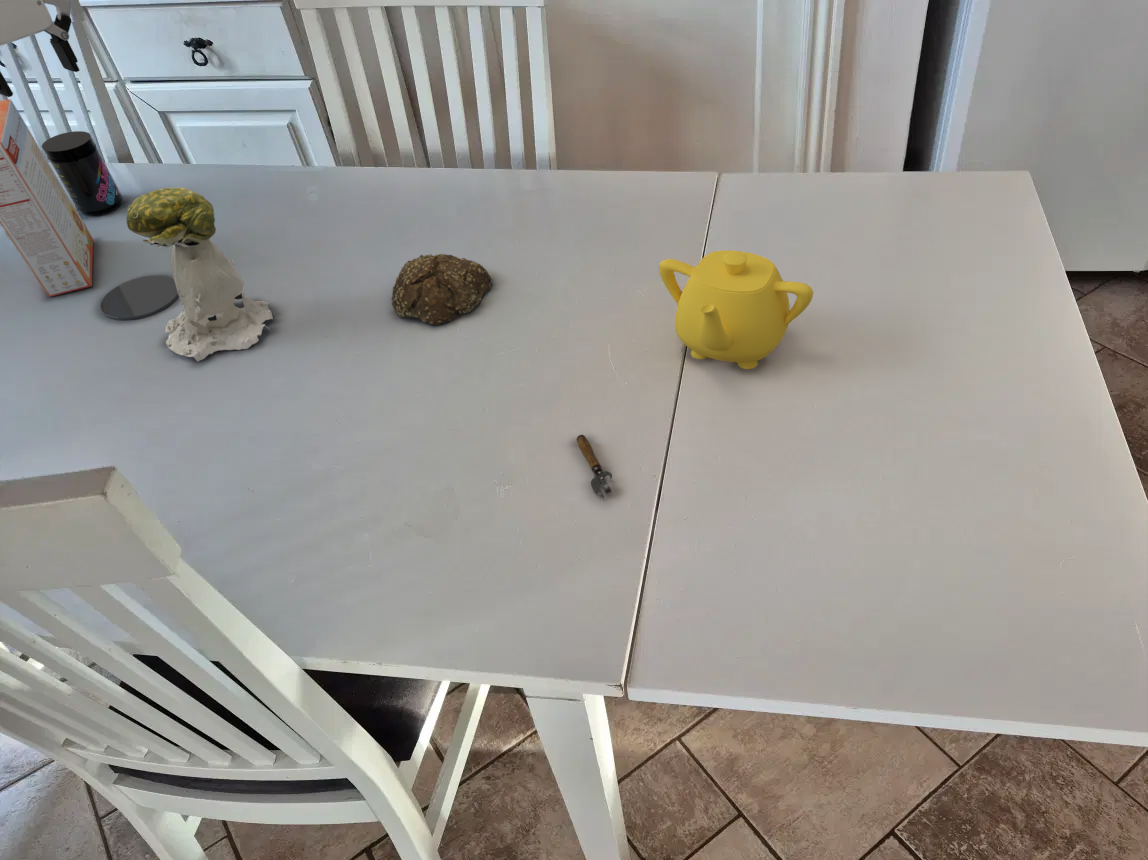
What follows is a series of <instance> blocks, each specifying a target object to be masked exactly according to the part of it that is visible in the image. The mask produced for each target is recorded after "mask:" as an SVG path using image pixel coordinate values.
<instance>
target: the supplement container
mask: <svg viewBox="0 0 1148 860" xmlns="http://www.w3.org/2000/svg"><path fill="white" fill-rule="evenodd" d="M41 150H43V152H44V154H45V157H46V159H47V160H48V162H49V163H50V164H51V166H52V167H53V168H52V169H53V170H54V171H55V174H56V176H57V177H58V179H59V181H60V183H62V186H63V188H64V190H65V191H66V193H67V195H68V197H69V199H70V200H71V202H72V204H73V206H74V207H75V209H76V211H77V212H78V213H81V214H82V215H86V216H100V215H106V214H108V213H110V212H113V211H115V210H116V209H118V208H119V207H120V206H121V205H122V203H123V195H122V192H121V191H120V188H119V187H118V185H117V183H116V182H115V180H114V178H113V176H112V174H111V171H110V170H109V167H108V166H107V164H106V161H105V160H104V158H103V156H102V154H101V153H100V150H99V149H98V146H97V144H96V143H95V141H94V139H93V137H92V135H91V134H90V132H88V131H82V130H81V131H80V130H79V131H78V130H77V131H76V130H75V131H69V132H68V131H67V132H63V133H60V134H57V135H53V136H52V137H49V138H48V139H46V140H45V141H44V142H42V144H41Z"/></svg>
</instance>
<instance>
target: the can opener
mask: <svg viewBox="0 0 1148 860" xmlns="http://www.w3.org/2000/svg"><path fill="white" fill-rule="evenodd" d="M576 443H577V446H578V447H579V449H580V452H581V453H582V455H583V457H584V458H585V460H586V461H587V463H588V465H589V468H590V469H591V472H593V473H594V477H593V478H592V479H591V480H590V486H591V489H592V490H593V492H594V494H596V495H598V496H599V497H601V498H604V499H605V495H604V494H603V491H602V489H601V488H600V486H602V488H603V489H604V492H605V494H606V495H607V494H609V493H611V492H612V489H611V487H610V485H609V483H608V482H607V479H606V477H608V476H609V479H610V480H611V479H613V474H612V473H611V472H610V471H607V470H606V471H603V469H602V465H601V463H600V462H599V460H598V458H597V457H596V454H595V452H594V449H593V447H592V445H591V443H590V441H589V440H588V438H587V437H586V436H585V435H584V434H579V435H578V436H577V437H576Z"/></svg>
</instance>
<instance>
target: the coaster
mask: <svg viewBox="0 0 1148 860" xmlns="http://www.w3.org/2000/svg"><path fill="white" fill-rule="evenodd" d="M178 298H179V294H178V291H177V288H176V284H175V281H174V277H171V276H167V275H161V274H160V275H159V274H156V275H146V276H140V277H136V278H133V279H130V280H128V281H125V282H122V283H121V284H118V285H116V286H115V287H114V288H112V289H111V290H110V291H108V292H107V293H106V294H105V296H104V297H103V298H102V300H101V301H100V310H101V312H102V314H103V315H104V316H106V317H107V318H109V319H112V320H116V321H133V320H139V319H143V318H147V317H150V316H153V315H156V314H157V313H159V312H162V311H164V310H165V309H167V308H168V307H170V306H171V305H172V304H173V303H175V301H177V299H178Z"/></svg>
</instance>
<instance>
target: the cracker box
mask: <svg viewBox="0 0 1148 860" xmlns="http://www.w3.org/2000/svg"><path fill="white" fill-rule="evenodd" d="M0 226H1V228H2V229H3V231H4V232H5V234H6V236H7V237H8V238H9V240H10V242H11V243H12V244H13V246H14V248H15V249H16V250H17V252H18V253H19V254H20V256H21V258H22V259H23V261H24V262H25V264H26V266H27V267H28V268H29V270H30V271H31V273H32V274H33V275H34V277H35V278H36V280H37V281H38V283H39V285H40V286H41V287H42V289H43V291H44V293H46V295H47V296H48V297H49V298H51V297H55V296H56V297H57V296H59V295H63V294H68V293H72V292H75V291H79V290H84V289H88V288H91V287H93V261H94V238H93V236H92V235H91V233H90V231H89V229H88V228H87V226H86V224H85V222H84V221H83V219H82V217H81V216H80V214H79V211H78V210H77V208H76V206H75V205H74V203H73V201H72V199H71V198H70V196H69V194H68V193H67V191H66V189H65V188H64V186H63V184H61V181H60V179H59V177H58V176H57V174H56V172H54V169H53V168H52V167H51V165H50V162H49V160H48V159H47V157H46V155H44V153H43V151H42V149H41V148H40V146H39V144H38V143H37V141H36V138H35V137H34V136H33V133H32V132H31V130H30V129H29V127H28V125H27V124H26V122H25V120H24V119H23V118H22V115H21V114H20V112H19V111H18V109H17V107H16V105H15V103H14V102H13V100H12V99H11V98H9V99H1V100H0Z"/></svg>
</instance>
